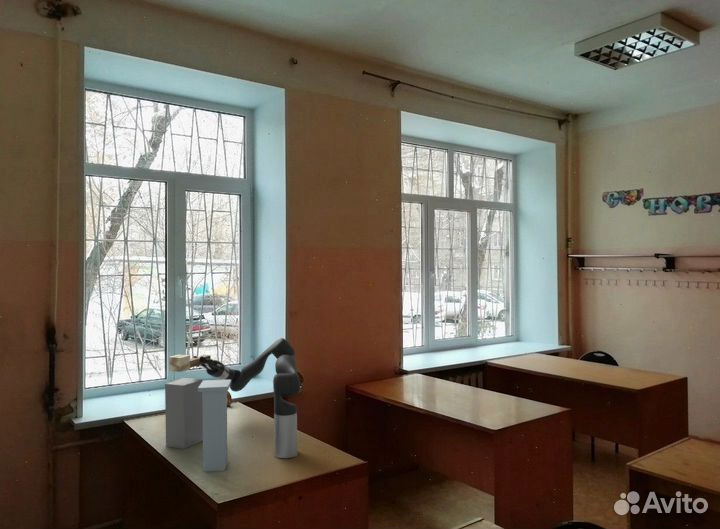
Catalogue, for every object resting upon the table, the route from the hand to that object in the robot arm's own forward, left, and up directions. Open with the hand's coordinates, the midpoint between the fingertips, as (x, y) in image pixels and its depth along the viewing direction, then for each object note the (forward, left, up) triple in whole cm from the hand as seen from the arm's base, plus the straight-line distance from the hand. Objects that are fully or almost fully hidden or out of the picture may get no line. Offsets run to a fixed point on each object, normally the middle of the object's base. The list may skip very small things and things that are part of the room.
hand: (197, 358), depth 239 cm
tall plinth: (-13, +36, -36) cm, 52 cm away
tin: (-5, -51, -36) cm, 63 cm away
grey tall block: (+4, +8, -36) cm, 37 cm away
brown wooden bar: (+1, +2, -3) cm, 4 cm away
